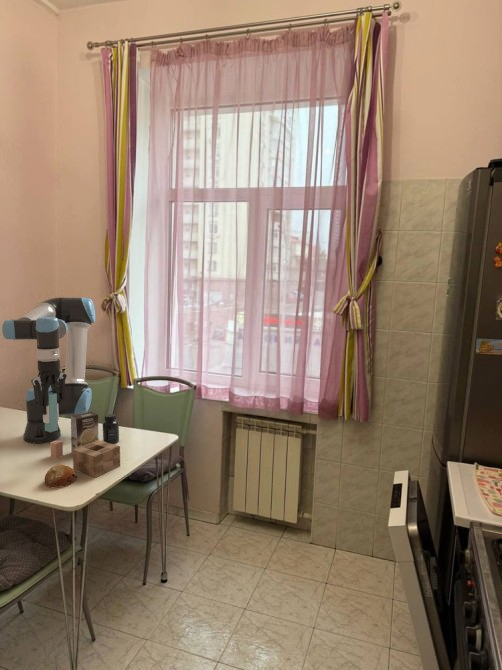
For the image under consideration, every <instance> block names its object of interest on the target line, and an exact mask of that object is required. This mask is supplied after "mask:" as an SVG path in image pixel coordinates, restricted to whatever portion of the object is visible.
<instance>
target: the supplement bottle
mask: <svg viewBox="0 0 502 670" xmlns="http://www.w3.org/2000/svg"><path fill="white" fill-rule="evenodd" d="M102 441H104V442H107V443H111V444H114V445H116V444H117V443H118V442H120V424H119V421H118V420H117V414H114V413H107V414H105V415H104V421H103V423H102Z"/></svg>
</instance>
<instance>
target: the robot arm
mask: <svg viewBox="0 0 502 670" xmlns="http://www.w3.org/2000/svg"><path fill="white" fill-rule="evenodd" d="M95 322H96V310H95V304H94V302H93V300H92V299H91V298H88V297H53V298H49V299H47V300H43V301H41V302H38V304H36V305H35V306H34V308H33V309H32V310H31V311H29V312H27V313H25V314H24V315H23V316H21V317H19V318H18V319H6V320H4V321H3V323H2V327H1V333H2V337H3V338H4V339H6V340H13V341H17V340H19V341H21V340H36V359H38V360H37V370H38V375H37V377H36V378H35V379H34V378H33V379H31V380H30V381H31V384H32V386H33V387H32V388H30V389H28V390H26V395H25V397H26V398H25V403H26V407H25V408H26V426H25V428H24V433H23V435H22V436H23V441H24V442H25V443H28V444H45V443H51V442H53V441H56V440H58V439H59V438H60V437H61V435H62V434H61V428H60V426H59V424H58V430H56V431H53V432H48V431H45V423H50V418H49V406H47V400H48V393H51V392H52V393H56V394H57V415H58V421H60V416H65V415H66V416H67V415H68V416H69V415H70V416H71V415H74V414H80V413H85V412H89V410H90V407H91V402H92V395H93V392H92V391H93V390H92V388H90V387H89V383H88V382H86V368H87V367H86V366H87V347H88V345H87V344H88V331H89V330H90V329H91V327H92V324H94V323H95ZM66 334H67V335H66ZM65 336H66V337H67V338H66V339H67V340H66V353H65V367H64V368H65V370H64V371H65V372H64V373H62V372H61V371H60V369H61V362H60V361H61V360H60V359H59V358H60V357H61V355H60V339H62V338H64V337H65Z"/></svg>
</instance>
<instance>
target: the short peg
mask: <svg viewBox="0 0 502 670" xmlns="http://www.w3.org/2000/svg"><path fill="white" fill-rule="evenodd" d="M49 444H50V458H53V459H55V460H56V459H60V458H62V457H63V456H64V447H63V445H64V444H63V441H62V440H58V439H56V440H54V441H50V442H49Z"/></svg>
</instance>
